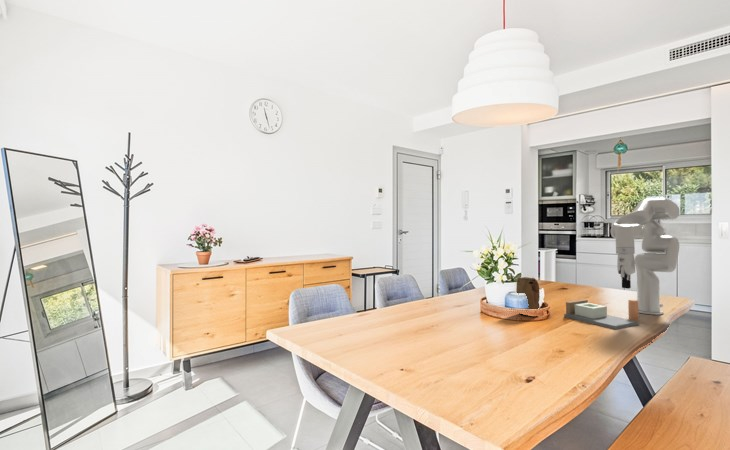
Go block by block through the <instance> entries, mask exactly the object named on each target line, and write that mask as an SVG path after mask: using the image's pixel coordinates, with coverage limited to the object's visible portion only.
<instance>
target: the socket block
mask: <svg viewBox="0 0 730 450" xmlns="http://www.w3.org/2000/svg"><path fill="white" fill-rule="evenodd" d="M607 307H608V306H606V305H603V304H596V303H591V302H588V303H582V304H576V305H575V315H579V316H584V317H588V318H592V319H595V318H601V317H606V316H607V315H608V310H607V309H608V308H607Z"/></svg>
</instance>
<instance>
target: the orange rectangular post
mask: <svg viewBox="0 0 730 450" xmlns="http://www.w3.org/2000/svg"><path fill="white" fill-rule="evenodd" d="M627 302H628V305H627V308H628V319H629V320H634V321H638V323H639V321H640V319H639V318H640V317H639V314H640V313H639V310H638V301H637V300H636V299H628V301H627Z"/></svg>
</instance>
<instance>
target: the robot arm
mask: <svg viewBox="0 0 730 450" xmlns="http://www.w3.org/2000/svg"><path fill="white" fill-rule="evenodd" d="M680 212H681V211H680V207H679V205H678V204H677V203H675V202H674V201H672V200H671V199H670V198H667V197H660V198H659V197H656V198H645V199H642V200H640V201H639V202H638V203H637V204H636V206H635V208H634V209H633V211H632V212H629V213H627V214H624V215H622V216H620V217H618V218H616V219H615V221H614V222H613V224H612V225H611V228H610V235H611V237H612V238H613V239H615V254H617V269H616V270H617V273H618V274H619V275H620V277H621V288H622V289H628V290H629V289H631V288H632V286H631V285H632V284H631V283H632V282H631V279H632V276H631V275H633V274H634V273H636V291H637V292H636V296H637V297H636V299H637V301H638V310H639V314H644V315H652V316H654V315H656V316H659V315H663V314H664V310H661V309H660V308H663V307H664V305H663V304H662V303H661V302H660V300H661V299H660V279H659V276H657V274H656V273H655V272H657V273H674V271H675V270H676V268H677V265H678V264H677V262H678V257H679V254H680V253H679V252H680V242H679V239H678V238H677V236H674V235H673V236H672V235H664V234H665V228H664V227H663V226H662V225H661V223H659V222H658V221H661V220H662V221H663V220H675V219H677V218H679V216H680ZM657 220H658V221H657ZM635 240H642V241H641V250H642V251H643V252H641V253H637V254H636V255H635V253H636V250H635Z"/></svg>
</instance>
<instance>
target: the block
mask: <svg viewBox="0 0 730 450" xmlns="http://www.w3.org/2000/svg"><path fill="white" fill-rule="evenodd" d="M516 292H517V293H525V294H526V296H527V299H528V304H529V306H528V307H529V309H538V308H539V309H540V306H541V305H540V297H541V296H540V294H541V293H540V285H539V282H538V280H537V279H536V278H535V277H530V276H529V277H527V276H522V277H517V278H516Z"/></svg>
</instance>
